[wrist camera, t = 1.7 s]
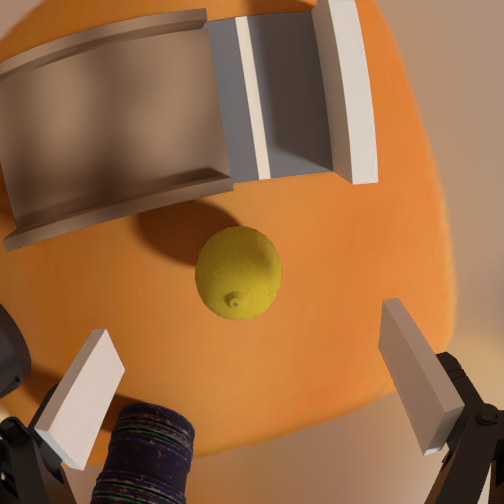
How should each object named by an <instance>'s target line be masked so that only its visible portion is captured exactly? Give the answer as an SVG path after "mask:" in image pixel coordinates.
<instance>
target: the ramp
mask: <svg viewBox="0 0 504 504" xmlns="http://www.w3.org/2000/svg"><path fill="white" fill-rule="evenodd" d="M206 21H207V14H206V8H203V9H193V10H184V11H176V12H168V13H162V14H155V15H150V16H144V17H139V18H134V19H129V20H124V21H120V22H115V23H111V24H107V25H103V26H99V27H96V28H92V29H88V30H85V31H81V32H78V33H75V34H72V35H69V36H66V37H63V38H60V39H57V40H54V41H51V42H48V43H46V44H43V45H40V46H38V47H35V48H33V49H30V50H28V51H25V52H23V53H21V54H18V55H16V56H14V57H11V58H9V59H7V60H5V61H3V62H1V63H0V162H1V167H2V172H3V176H4V181H5V185H6V189H7V193H8V197H9V201H10V205H11V209H12V212H13V216H14V219H15V223H16V226H17V229H15V230H14V231H13V232H12V233H11V234H9V235H8V236H7V237H6V238H5V239H3V243H4V246H5V249H6V252H8V251H11V250H14V249H17V248H20V247H23V246H26V245H29V244H32V243H35V242H39V241H42V240H45V239H48V238H51V237H55V236H58V235H61V234H64V233H68V232H71V231H75V230H78V229H81V228H85V227H88V226H92V225H95V224H99V223H102V222H106V221H110V220H113V219H117V218H121V217H124V216H128V215H132V214H136V213H140V212H144V211H148V210H152V209H155V208H160V207H164V206H168V205H172V204H176V203H180V202H184V201H189V200H193V199H197V198H202V197H206V196H211V195H215V194H220V193H224V192H229V191H234V190H233V184H232V178H231V177H229V176H227V175H225V174H227V173H230V170H229V163H228V157H227V151H226V144H225V138H224V132H223V125H222V119H221V112H220V106H219V99H218V93H217V86H216V80H215V73H214V66H213V60H212V53H211V46H210V40H209V33H208V29H202V28H203V26H204V24H205V22H206Z"/></svg>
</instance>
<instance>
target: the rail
mask: <svg viewBox="0 0 504 504" xmlns="http://www.w3.org/2000/svg"><path fill="white" fill-rule="evenodd" d="M311 14H312V19H313V24H314V29H315V35H316V40H317V46H318V52H319V58H320V64H321V71H322V78H323V85H324V92H325V99H326V107H327V115H328V124H329V133H330V142H331V153H332V163H333V172H335V173H336V174H338V175H339V176H341V177H342V178H344V179H345V180H347V181H348V182H350V183H351V184H364V183H376V182H378V170H377V152H376V139H375V127H374V116H373V107H372V98H371V90H370V83H369V75H368V69H367V62H366V56H365V50H364V44H363V39H362V33H361V28H360V23H359V18H358V14H357V9H356V4H355V0H318V1H317V3H316V4H315V6H314V8H313V9H312V11H311Z"/></svg>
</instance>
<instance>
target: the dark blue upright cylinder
mask: <svg viewBox="0 0 504 504" xmlns="http://www.w3.org/2000/svg"><path fill="white" fill-rule="evenodd" d="M194 437H195V431H194V428H193V426H192V424H191V423H190V422H189V421H188V420H187V419H186V418H184V417H183V416H182V415H180V414H178V413H177V412H175V411H173V410H170V409H168V408H165V407H162V406H159V405H154V404H148V403H136V404H131V405H128V406H126V407H124V408H123V409H122V410H121V412H120V415H119V419H118V421H117V423H116V425H115V427H114V429H113V431H112V434H111V440H110V443H109V446H108V451H109V452H108V455H107V458H106V462H105V465H104V468H103V471H102V472H101V473H100V474H99V476H98V478H97V479H96V482H97V483H96V486H95V487H94V489H93V493H92V499H91V502H90V504H186V498H185V497H184V494H185V485H186V478H187V474H188V473H189V471H190V466H191V461H192V457H193V441H194Z"/></svg>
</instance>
